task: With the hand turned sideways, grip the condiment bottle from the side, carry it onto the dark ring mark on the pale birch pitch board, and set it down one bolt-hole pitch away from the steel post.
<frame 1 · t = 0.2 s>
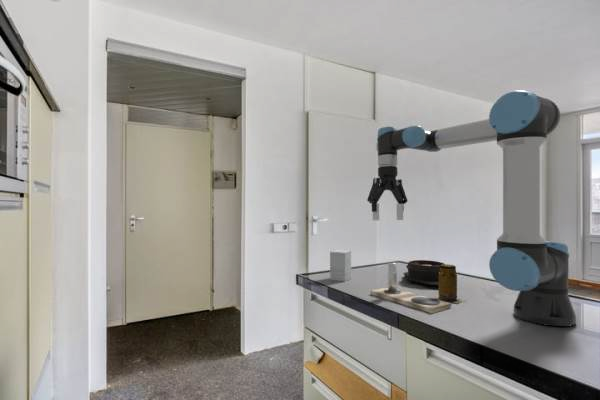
hand: (388, 220, 135), 27 cm above the counter, tool pointing down, fingers open, 13 cm apart
pitch board: (408, 300, 119), on the counter
supplement box: (340, 279, 152), on the counter
steel post: (392, 296, 125), resting on pitch board
condiment: (449, 300, 121), on the counter
casserole: (426, 282, 148), on the counter
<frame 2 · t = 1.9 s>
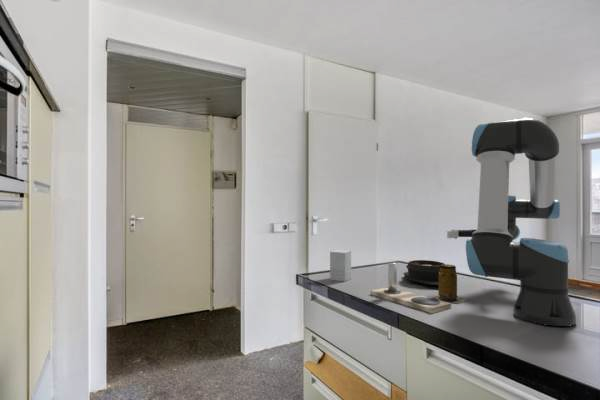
hand: (464, 236, 127), 22 cm above the counter, tool horizontal, fingers open, 13 cm apart
nothing on the counter moved.
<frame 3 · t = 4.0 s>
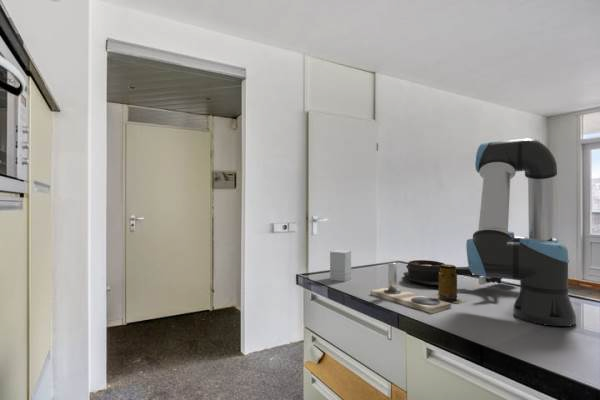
hand: (461, 277, 126), 7 cm above the counter, tool horizontal, fingers open, 13 cm apart
nothing on the counter moved.
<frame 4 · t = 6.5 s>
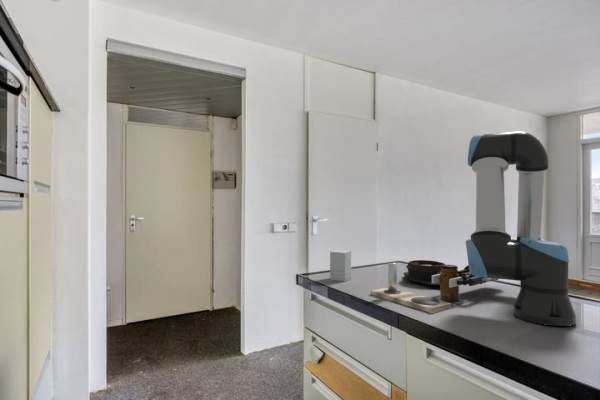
hand: (441, 281, 118), 7 cm above the counter, tool horizontal, fingers closed on condiment, 6 cm apart
condiment: (451, 300, 120), on the counter, touching gripper
everything else where it was.
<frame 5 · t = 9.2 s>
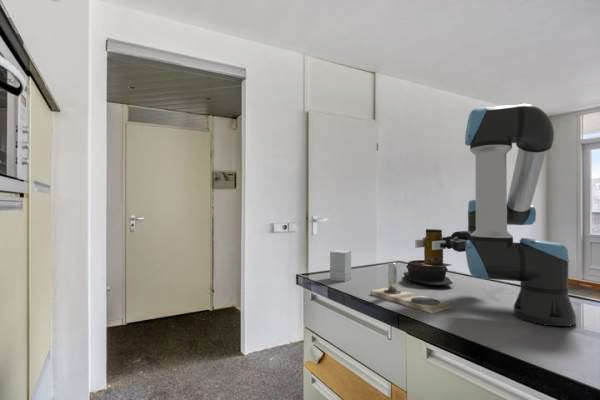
hand: (424, 244, 115), 20 cm above the counter, tool horizontal, fingers closed on condiment, 6 cm apart
condiment: (435, 265, 117), point 13 cm above the counter, touching gripper
everything else where it was.
when the fingers open (10 cm above the counter, at t = 11.9 s): condiment drops 1 cm, resting on pitch board.
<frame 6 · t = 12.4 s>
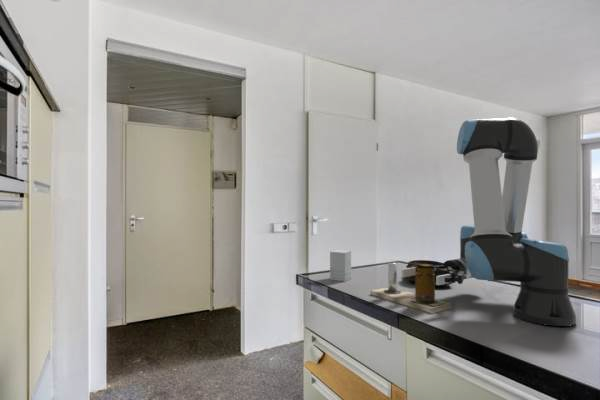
hand: (419, 276, 112), 10 cm above the counter, tool horizontal, fingers open, 13 cm apart
condiment: (427, 302, 113), point 1 cm above the counter, touching pitch board
everything else where it was.
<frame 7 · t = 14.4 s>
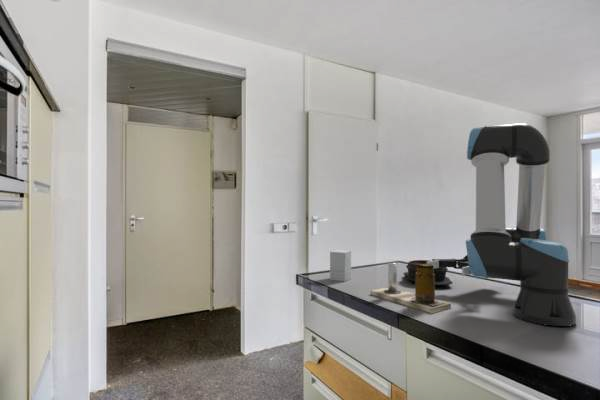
hand: (444, 268, 119), 11 cm above the counter, tool horizontal, fingers open, 13 cm apart
nothing on the counter moved.
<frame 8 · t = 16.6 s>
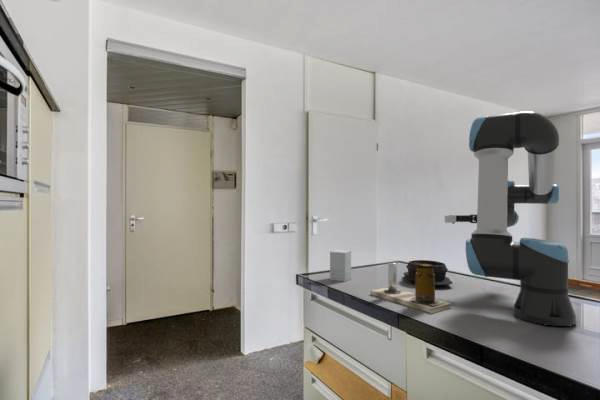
hand: (462, 219, 126), 28 cm above the counter, tool horizontal, fingers open, 13 cm apart
nothing on the counter moved.
at the end: condiment 0.8 cm from the target spot on the pitch board, point 1.4 cm above the pitch board's base; condiment tilted 0°; the gripper is holding nothing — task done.
